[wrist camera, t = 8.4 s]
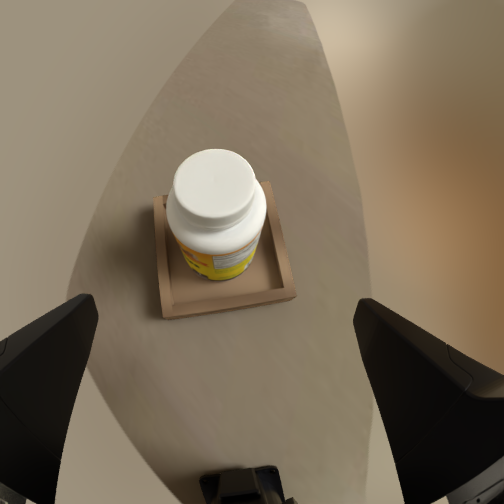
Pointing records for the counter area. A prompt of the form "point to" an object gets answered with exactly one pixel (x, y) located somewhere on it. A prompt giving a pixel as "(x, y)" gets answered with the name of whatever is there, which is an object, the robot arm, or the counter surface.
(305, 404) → the counter surface
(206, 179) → the supplement bottle
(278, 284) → the walnut tray
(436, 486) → the robot arm
